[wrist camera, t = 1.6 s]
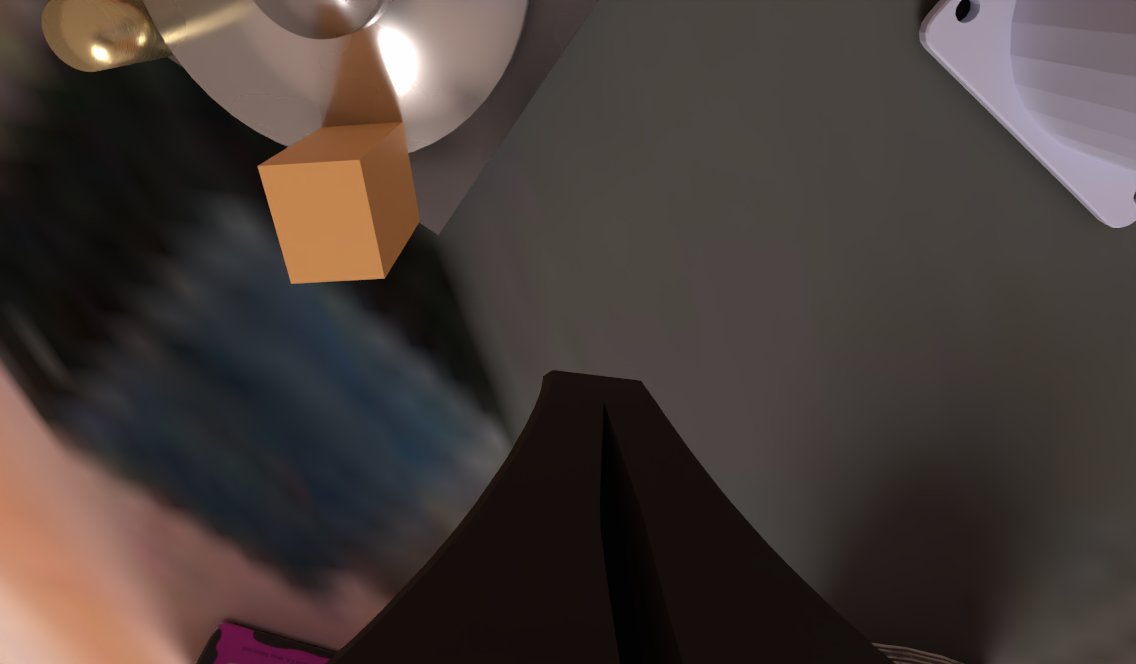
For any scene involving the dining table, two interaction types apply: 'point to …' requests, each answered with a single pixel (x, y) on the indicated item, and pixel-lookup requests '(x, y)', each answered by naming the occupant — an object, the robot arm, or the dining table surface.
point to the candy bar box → (257, 648)
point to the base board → (440, 170)
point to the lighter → (912, 655)
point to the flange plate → (343, 106)
